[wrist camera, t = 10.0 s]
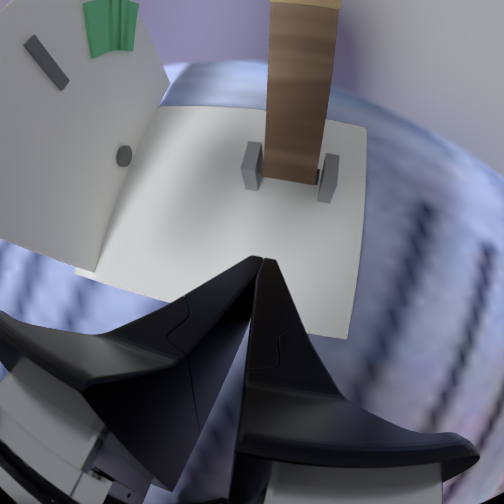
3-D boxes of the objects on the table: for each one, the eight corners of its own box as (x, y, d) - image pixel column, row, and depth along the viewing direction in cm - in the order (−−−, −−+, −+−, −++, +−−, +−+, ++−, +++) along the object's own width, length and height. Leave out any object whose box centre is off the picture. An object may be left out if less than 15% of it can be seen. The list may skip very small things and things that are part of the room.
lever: (316, 193, 16) (345, -26, 7) (259, 184, 16) (267, -34, 7) (317, 175, 17) (342, -19, 8) (265, 166, 18) (274, -27, 8)
